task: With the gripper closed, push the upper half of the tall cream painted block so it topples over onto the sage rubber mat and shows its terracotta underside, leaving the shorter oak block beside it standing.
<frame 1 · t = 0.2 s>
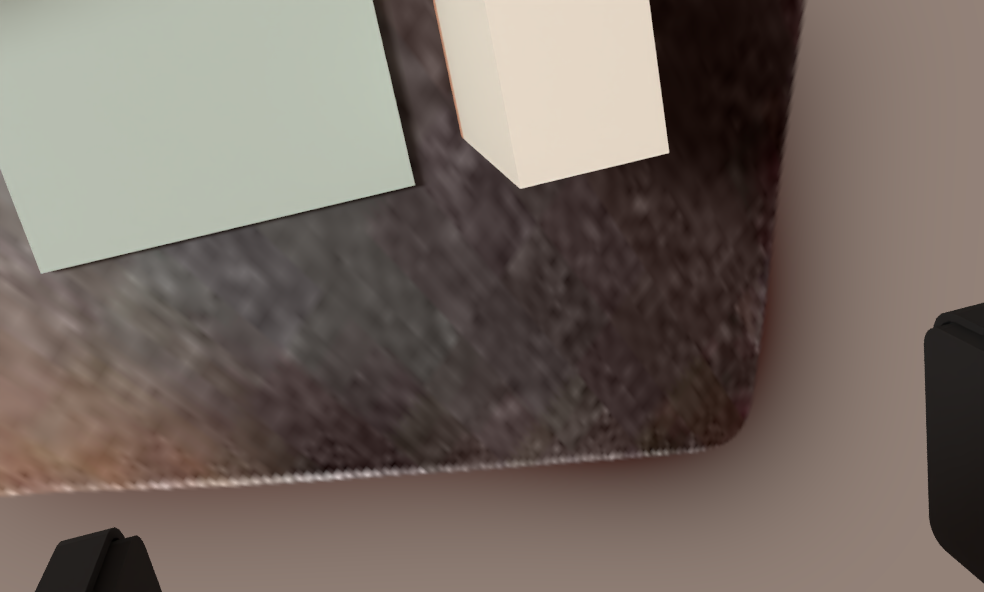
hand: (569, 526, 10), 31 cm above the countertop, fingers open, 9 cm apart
mat: (190, 86, 37), on the countertop
cream block: (501, 43, 39), on the countertop
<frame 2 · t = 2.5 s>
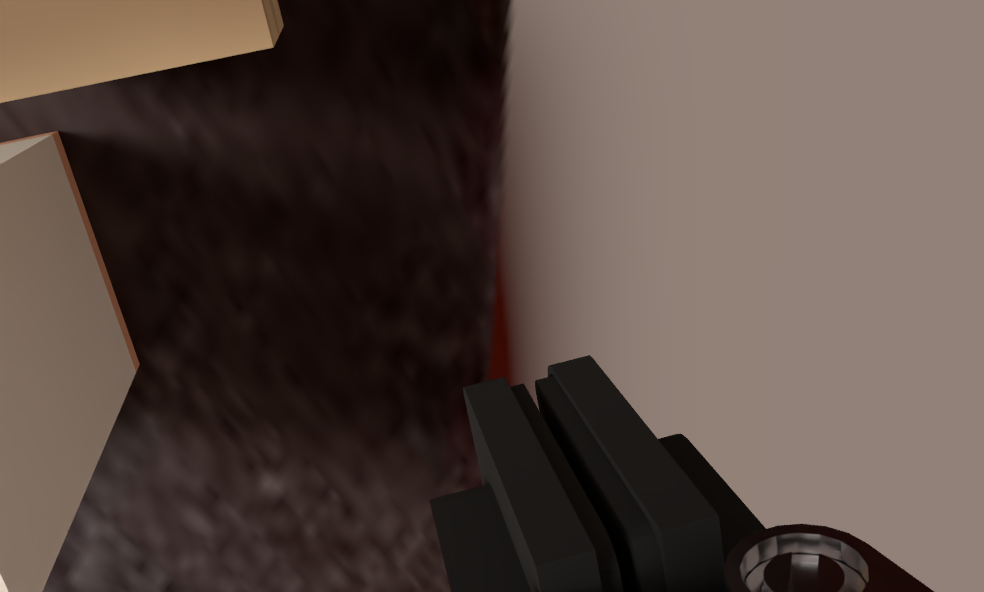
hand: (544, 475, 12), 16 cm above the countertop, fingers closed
cream block: (9, 273, 25), on the countertop
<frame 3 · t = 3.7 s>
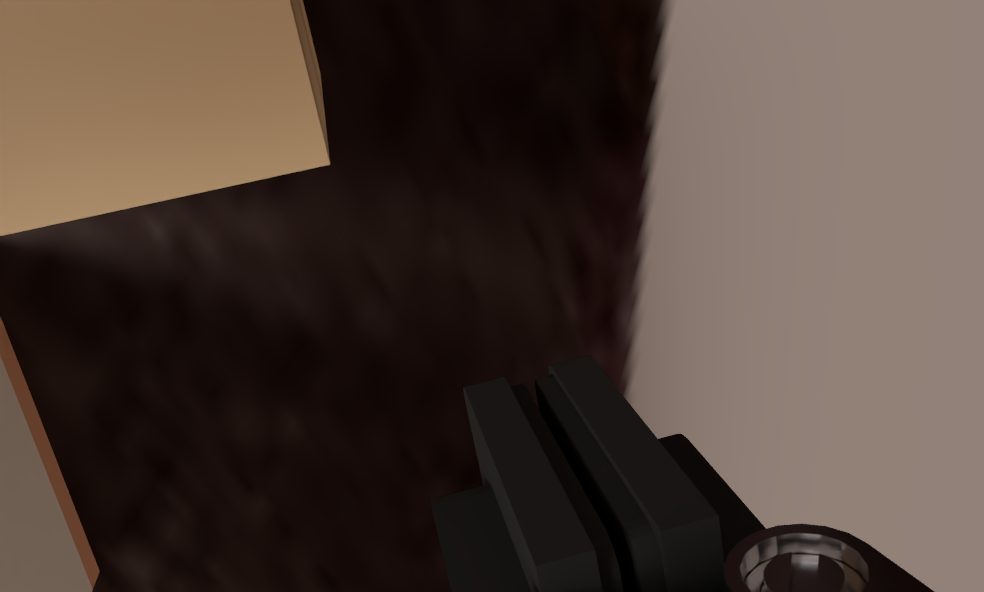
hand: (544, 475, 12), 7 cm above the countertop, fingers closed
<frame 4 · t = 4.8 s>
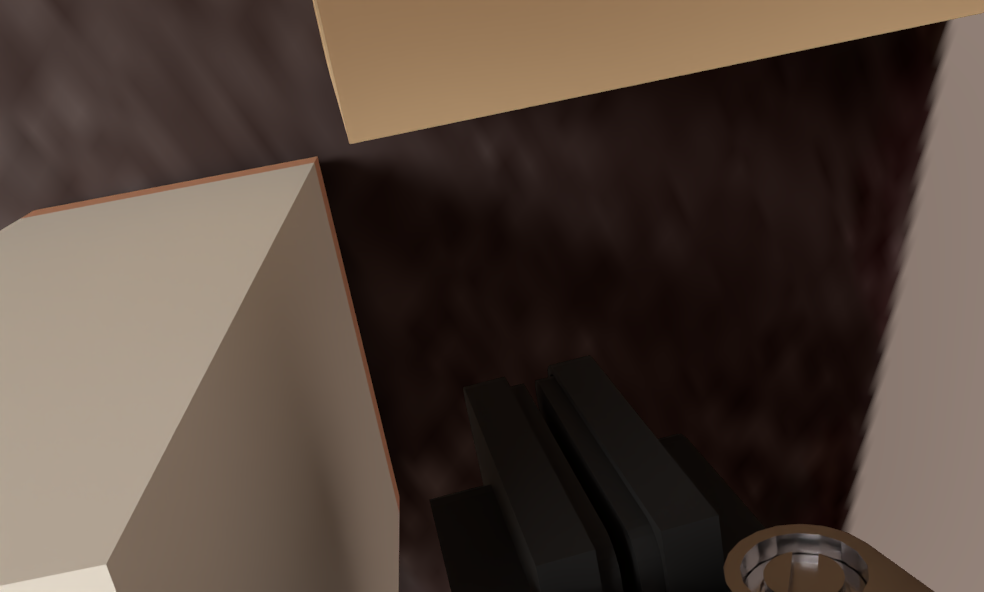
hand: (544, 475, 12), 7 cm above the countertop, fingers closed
cream block: (229, 364, 17), on the countertop, tilted 6°, touching gripper
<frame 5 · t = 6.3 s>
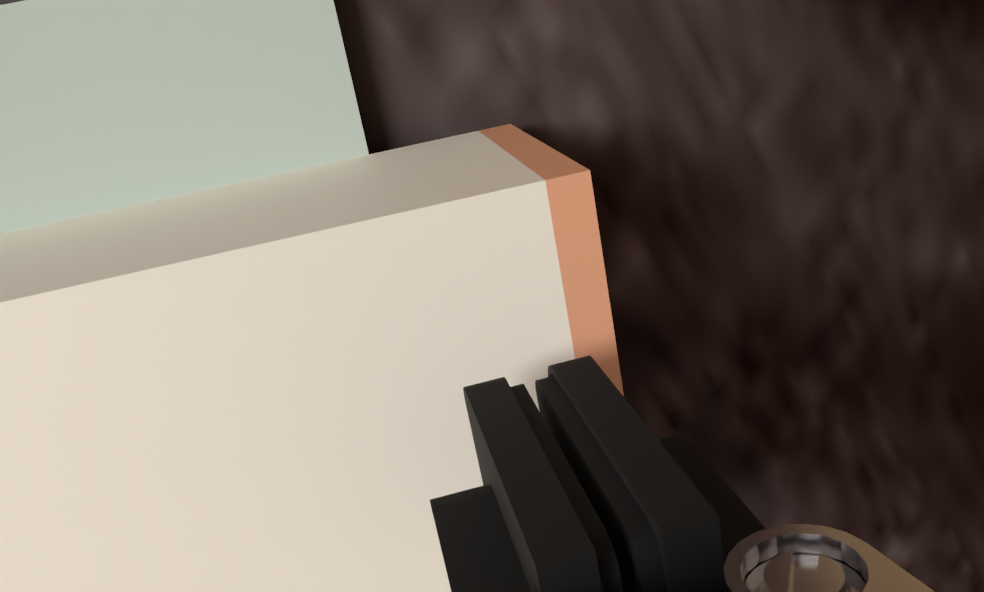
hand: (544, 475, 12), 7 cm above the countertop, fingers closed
cream block: (577, 349, 15), point 3 cm above the countertop, tilted 90°, touching mat
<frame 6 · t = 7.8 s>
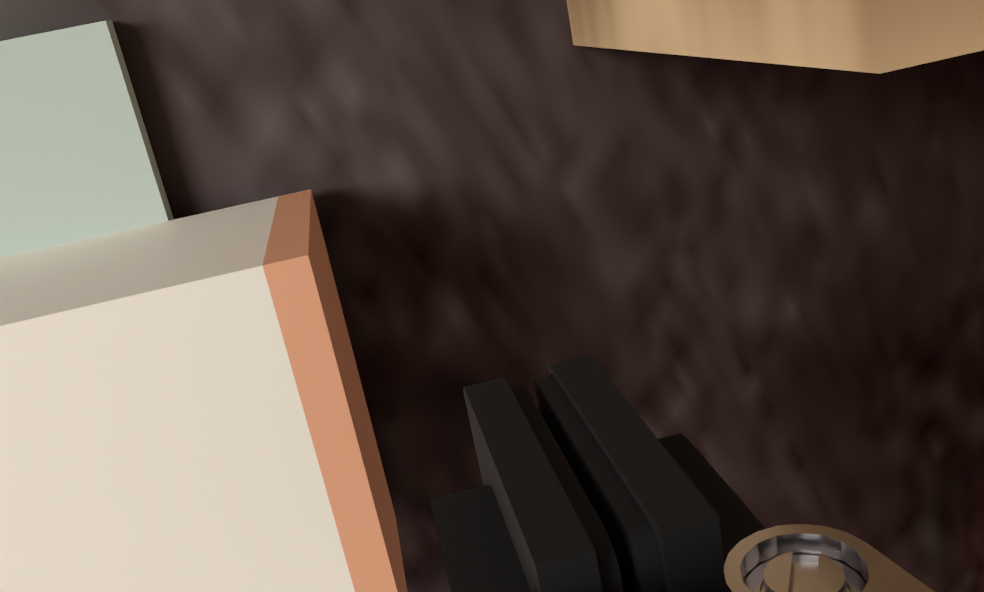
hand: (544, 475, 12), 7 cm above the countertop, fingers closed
cream block: (361, 415, 15), point 3 cm above the countertop, tilted 90°, touching mat
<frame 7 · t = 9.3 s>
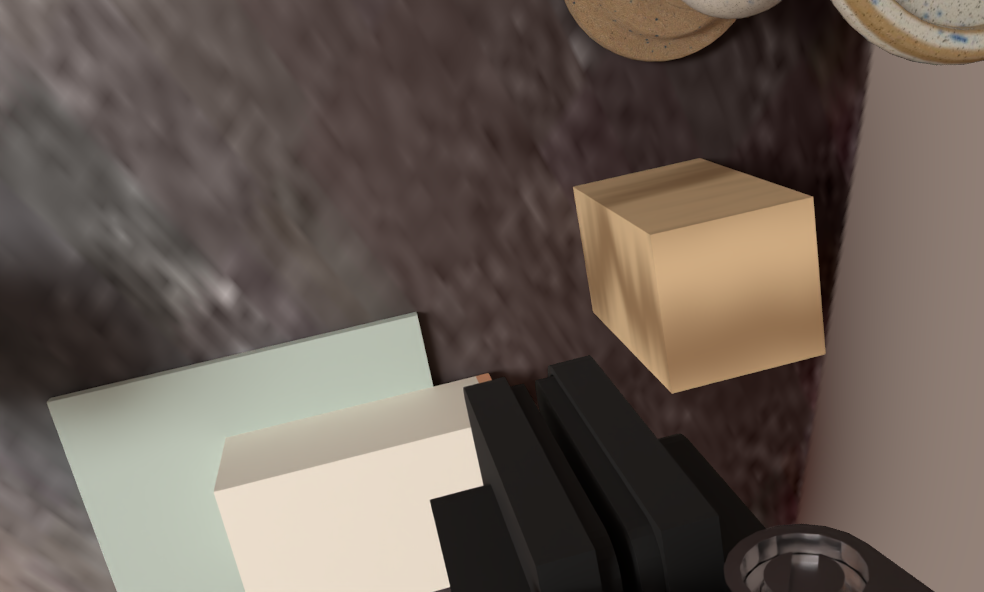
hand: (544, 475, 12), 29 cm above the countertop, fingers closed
mat: (272, 473, 42), on the countertop
oak block: (645, 236, 42), on the countertop
cream block: (512, 464, 40), point 3 cm above the countertop, tilted 90°, touching mat
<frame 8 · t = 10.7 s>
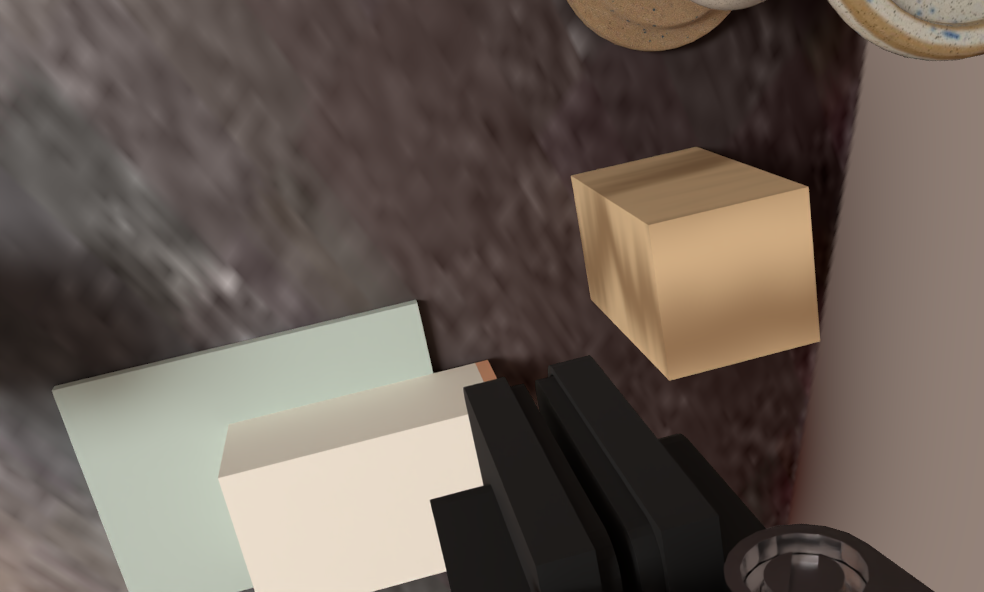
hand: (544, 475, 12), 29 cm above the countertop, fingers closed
mat: (275, 459, 42), on the countertop
oak block: (642, 224, 42), on the countertop
cream block: (512, 450, 41), point 3 cm above the countertop, tilted 90°, touching mat
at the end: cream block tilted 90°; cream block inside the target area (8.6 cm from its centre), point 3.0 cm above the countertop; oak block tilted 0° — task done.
